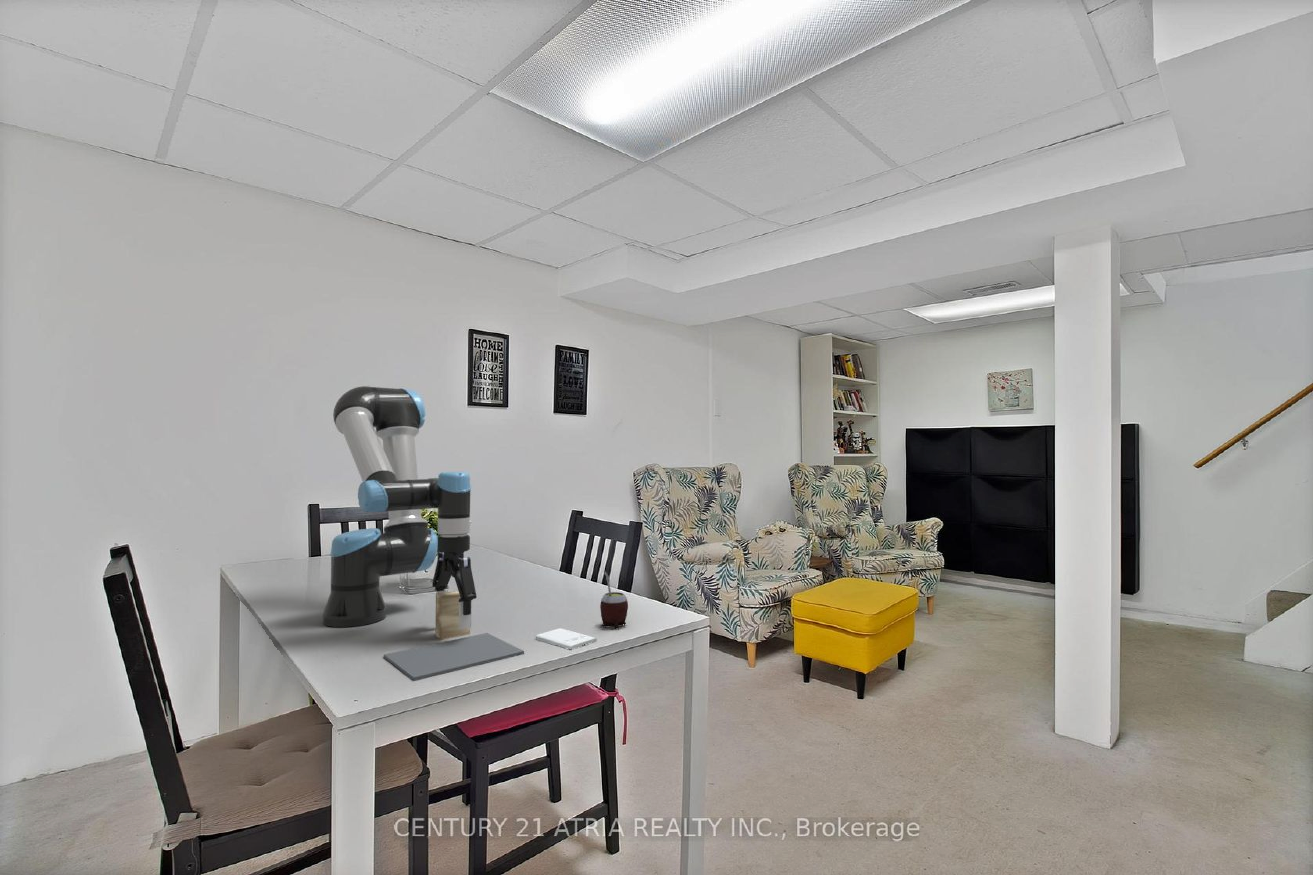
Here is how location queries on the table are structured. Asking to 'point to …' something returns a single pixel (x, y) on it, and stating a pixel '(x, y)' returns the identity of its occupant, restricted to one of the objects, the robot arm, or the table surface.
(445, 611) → the face block
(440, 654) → the mat
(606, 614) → the mate gourd
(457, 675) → the table surface
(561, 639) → the external hard drive
